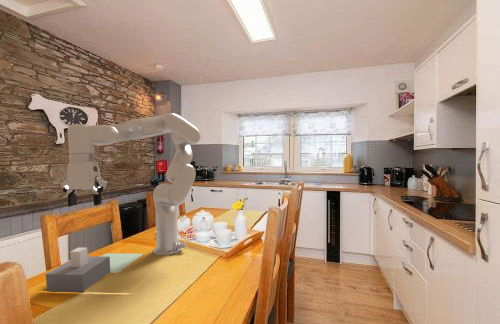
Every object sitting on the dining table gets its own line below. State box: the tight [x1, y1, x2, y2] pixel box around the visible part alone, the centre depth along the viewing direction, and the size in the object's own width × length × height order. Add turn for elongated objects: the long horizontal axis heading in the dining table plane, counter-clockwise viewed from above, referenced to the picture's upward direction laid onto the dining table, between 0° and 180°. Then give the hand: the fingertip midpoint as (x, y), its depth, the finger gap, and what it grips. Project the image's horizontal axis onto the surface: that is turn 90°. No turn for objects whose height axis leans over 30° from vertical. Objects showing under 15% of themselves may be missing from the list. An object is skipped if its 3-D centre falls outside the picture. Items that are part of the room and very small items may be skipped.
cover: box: [45, 247, 111, 294], centre depth 84 cm, size 13×13×12 cm
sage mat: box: [100, 252, 144, 274], centre depth 99 cm, size 18×18×1 cm
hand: (85, 205), depth 87 cm, fingers open, 9 cm apart
